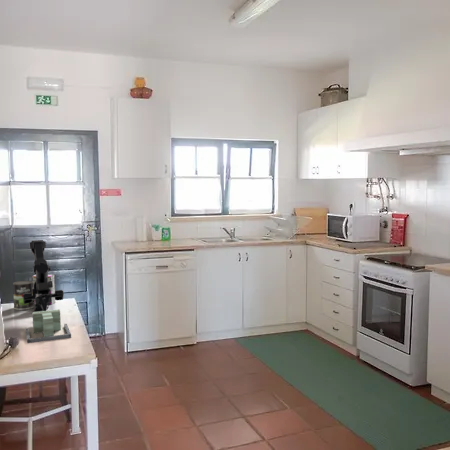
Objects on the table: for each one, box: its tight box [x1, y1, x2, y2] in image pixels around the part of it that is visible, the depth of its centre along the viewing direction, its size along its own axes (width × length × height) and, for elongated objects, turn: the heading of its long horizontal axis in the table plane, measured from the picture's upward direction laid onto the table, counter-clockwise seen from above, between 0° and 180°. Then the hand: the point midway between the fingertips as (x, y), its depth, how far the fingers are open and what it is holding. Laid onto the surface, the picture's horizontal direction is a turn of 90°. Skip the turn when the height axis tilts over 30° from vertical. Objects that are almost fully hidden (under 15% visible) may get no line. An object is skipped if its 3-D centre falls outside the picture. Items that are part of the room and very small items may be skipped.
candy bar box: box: [31, 274, 56, 305], centre depth 285 cm, size 11×5×16 cm, turn 84°
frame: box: [25, 323, 72, 344], centre depth 230 cm, size 18×18×2 cm
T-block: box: [31, 309, 62, 337], centre depth 232 cm, size 14×12×9 cm
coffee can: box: [12, 280, 35, 311], centre depth 277 cm, size 10×10×14 cm
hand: (44, 311), depth 244 cm, fingers closed
